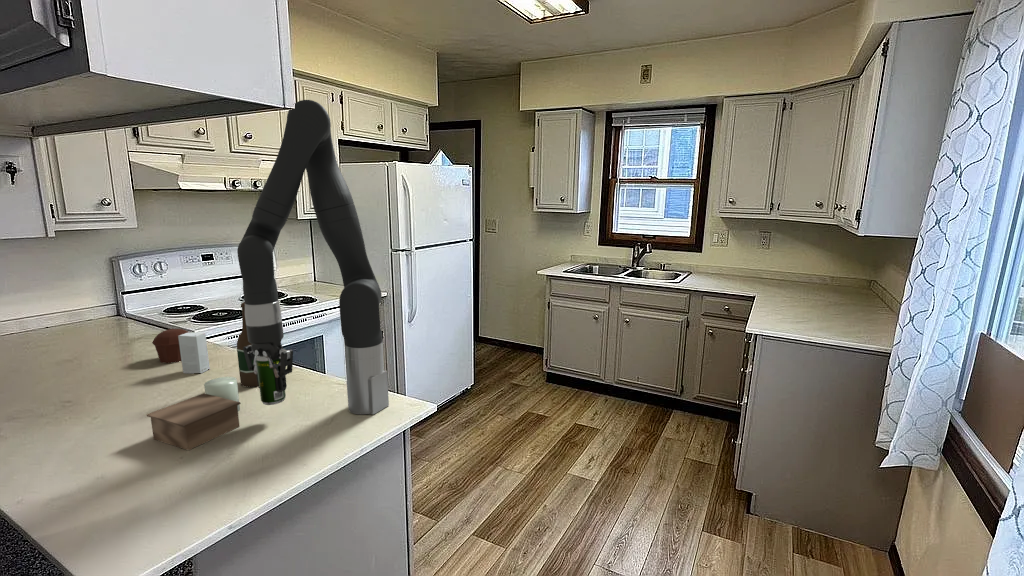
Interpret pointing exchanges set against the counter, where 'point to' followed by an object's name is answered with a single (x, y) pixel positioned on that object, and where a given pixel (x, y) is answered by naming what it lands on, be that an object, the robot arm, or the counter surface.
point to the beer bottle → (246, 375)
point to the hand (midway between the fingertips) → (272, 388)
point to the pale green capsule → (223, 388)
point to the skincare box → (194, 352)
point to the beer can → (268, 382)
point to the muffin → (168, 345)
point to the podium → (194, 421)
